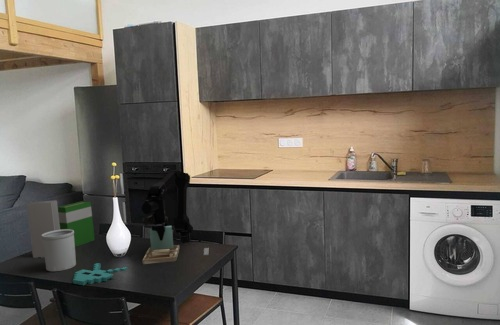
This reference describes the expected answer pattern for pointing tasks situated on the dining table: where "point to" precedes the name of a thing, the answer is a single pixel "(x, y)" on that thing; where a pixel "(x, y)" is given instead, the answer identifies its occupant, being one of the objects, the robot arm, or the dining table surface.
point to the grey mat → (206, 251)
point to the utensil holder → (59, 249)
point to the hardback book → (77, 221)
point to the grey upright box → (41, 223)
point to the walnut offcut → (158, 256)
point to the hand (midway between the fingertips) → (161, 239)
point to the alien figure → (94, 275)
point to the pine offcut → (161, 252)
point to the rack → (166, 259)
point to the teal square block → (162, 244)
